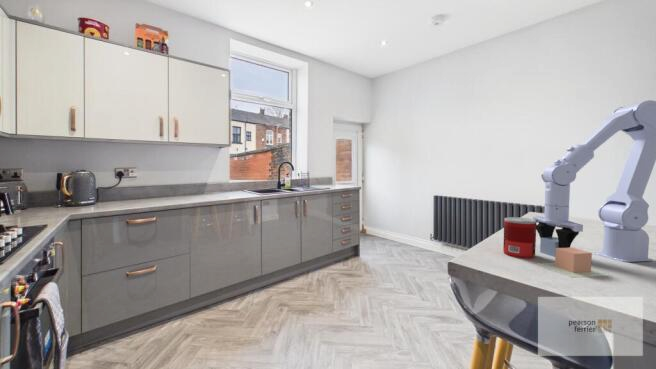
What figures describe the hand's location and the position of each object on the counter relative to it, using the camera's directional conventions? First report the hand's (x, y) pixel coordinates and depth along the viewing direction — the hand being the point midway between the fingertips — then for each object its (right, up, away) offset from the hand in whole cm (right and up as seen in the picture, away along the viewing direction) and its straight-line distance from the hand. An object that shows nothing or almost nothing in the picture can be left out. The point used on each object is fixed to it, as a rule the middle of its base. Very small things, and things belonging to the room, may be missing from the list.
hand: (554, 250), depth 87 cm
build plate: (-6, -2, -13) cm, 14 cm away
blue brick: (0, -1, 0) cm, 1 cm away
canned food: (-11, -2, 0) cm, 11 cm away
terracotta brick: (-6, -2, -13) cm, 14 cm away
